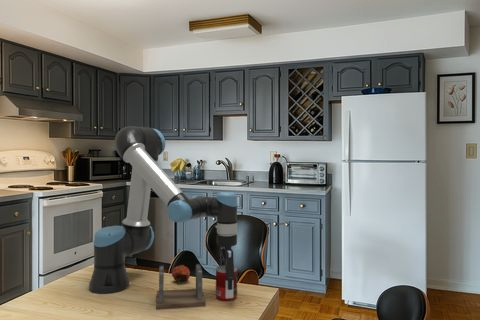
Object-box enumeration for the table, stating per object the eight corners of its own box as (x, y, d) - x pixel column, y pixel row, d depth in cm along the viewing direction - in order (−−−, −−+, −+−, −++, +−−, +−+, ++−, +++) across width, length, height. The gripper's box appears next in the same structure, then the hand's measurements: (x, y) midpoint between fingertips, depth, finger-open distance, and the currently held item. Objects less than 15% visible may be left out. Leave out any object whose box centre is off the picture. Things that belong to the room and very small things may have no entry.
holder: (156, 294, 144) (156, 264, 144) (201, 292, 147) (202, 262, 147) (155, 309, 130) (155, 276, 130) (205, 306, 133) (205, 273, 133)
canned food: (234, 302, 137) (234, 271, 137) (213, 300, 139) (213, 270, 139) (238, 294, 145) (239, 265, 145) (218, 292, 146) (218, 264, 146)
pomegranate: (188, 290, 155) (195, 269, 163) (182, 279, 151) (189, 259, 159) (172, 290, 158) (180, 270, 165) (165, 279, 154) (174, 259, 161)
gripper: (212, 228, 153) (212, 281, 153) (221, 241, 129) (221, 304, 129) (231, 227, 154) (230, 280, 155) (243, 241, 130) (242, 303, 130)
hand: (226, 291), depth 142 cm, fingers open, 12 cm apart
